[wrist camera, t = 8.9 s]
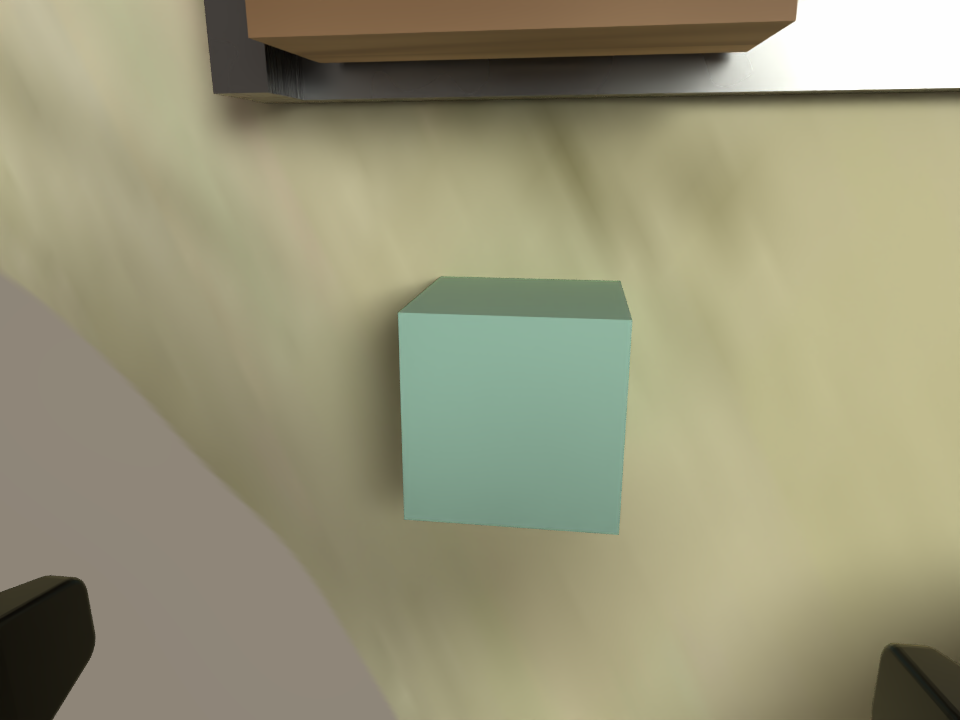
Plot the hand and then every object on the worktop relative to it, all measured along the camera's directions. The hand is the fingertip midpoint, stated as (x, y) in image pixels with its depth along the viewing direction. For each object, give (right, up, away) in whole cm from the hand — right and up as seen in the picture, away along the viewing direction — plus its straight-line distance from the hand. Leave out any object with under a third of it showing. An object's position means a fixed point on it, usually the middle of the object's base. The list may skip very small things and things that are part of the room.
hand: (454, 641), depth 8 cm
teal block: (+2, +3, +11) cm, 11 cm away
